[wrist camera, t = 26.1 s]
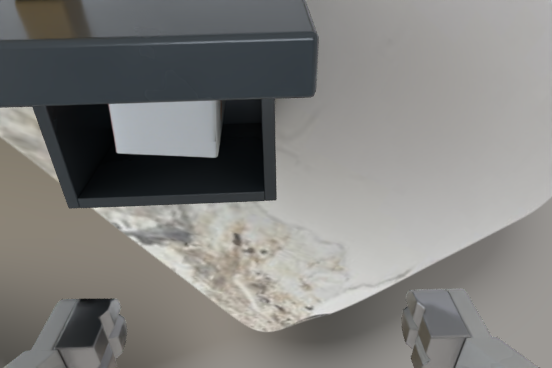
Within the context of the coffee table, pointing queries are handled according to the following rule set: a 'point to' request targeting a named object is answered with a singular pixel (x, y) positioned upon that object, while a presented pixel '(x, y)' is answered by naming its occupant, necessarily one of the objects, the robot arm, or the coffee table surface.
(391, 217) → the coffee table surface
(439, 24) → the coffee table surface
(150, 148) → the small box
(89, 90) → the bin lid
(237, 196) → the bin
